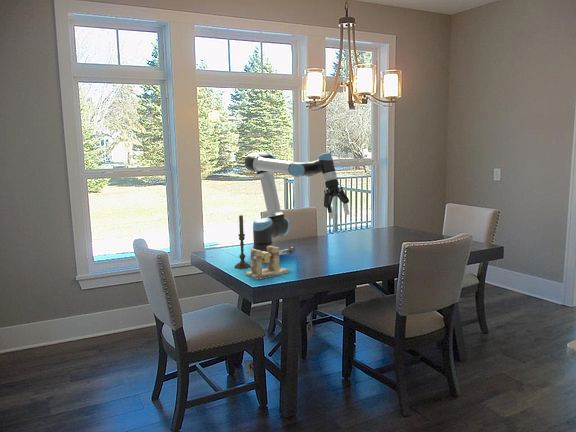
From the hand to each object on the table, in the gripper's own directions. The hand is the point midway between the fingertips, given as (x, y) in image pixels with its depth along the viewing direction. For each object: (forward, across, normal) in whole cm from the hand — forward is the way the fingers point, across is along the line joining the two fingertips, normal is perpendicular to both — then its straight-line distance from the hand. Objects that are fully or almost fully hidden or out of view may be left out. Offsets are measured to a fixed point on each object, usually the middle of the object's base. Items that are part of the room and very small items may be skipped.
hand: (340, 216), depth 266 cm
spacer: (+14, -44, +22) cm, 51 cm away
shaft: (+13, -37, +21) cm, 44 cm away
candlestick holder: (+14, -41, +44) cm, 62 cm away
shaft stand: (+20, -42, +24) cm, 53 cm away
